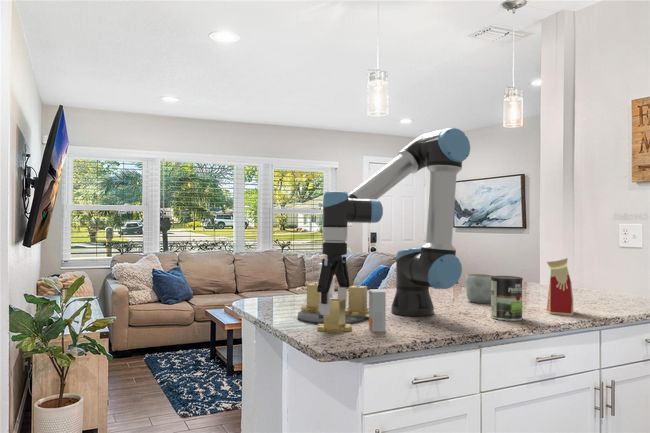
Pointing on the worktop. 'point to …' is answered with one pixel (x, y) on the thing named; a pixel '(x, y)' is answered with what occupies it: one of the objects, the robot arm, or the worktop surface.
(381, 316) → the skincare box
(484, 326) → the worktop surface
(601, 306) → the worktop surface
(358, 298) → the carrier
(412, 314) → the robot arm
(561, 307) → the red tall pouch
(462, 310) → the worktop surface
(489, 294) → the planter
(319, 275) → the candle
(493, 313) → the coffee can
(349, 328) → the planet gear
